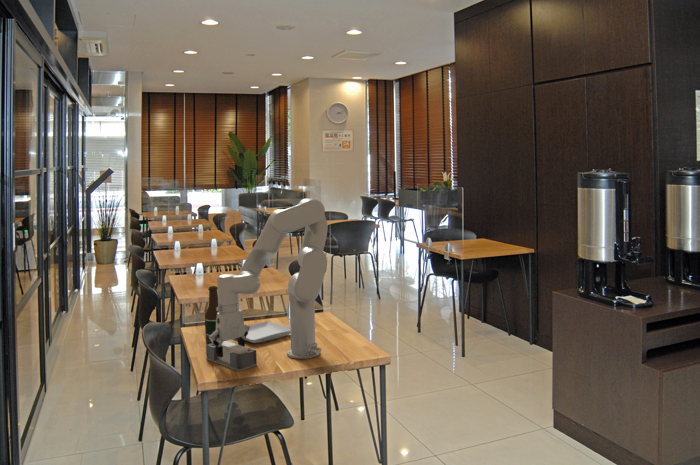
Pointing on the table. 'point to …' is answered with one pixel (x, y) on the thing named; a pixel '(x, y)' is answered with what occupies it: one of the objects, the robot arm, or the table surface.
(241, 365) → the endcap jig
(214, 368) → the table surface
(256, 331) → the salad plate
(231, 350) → the beige rectangular block
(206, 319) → the beer bottle
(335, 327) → the table surface
